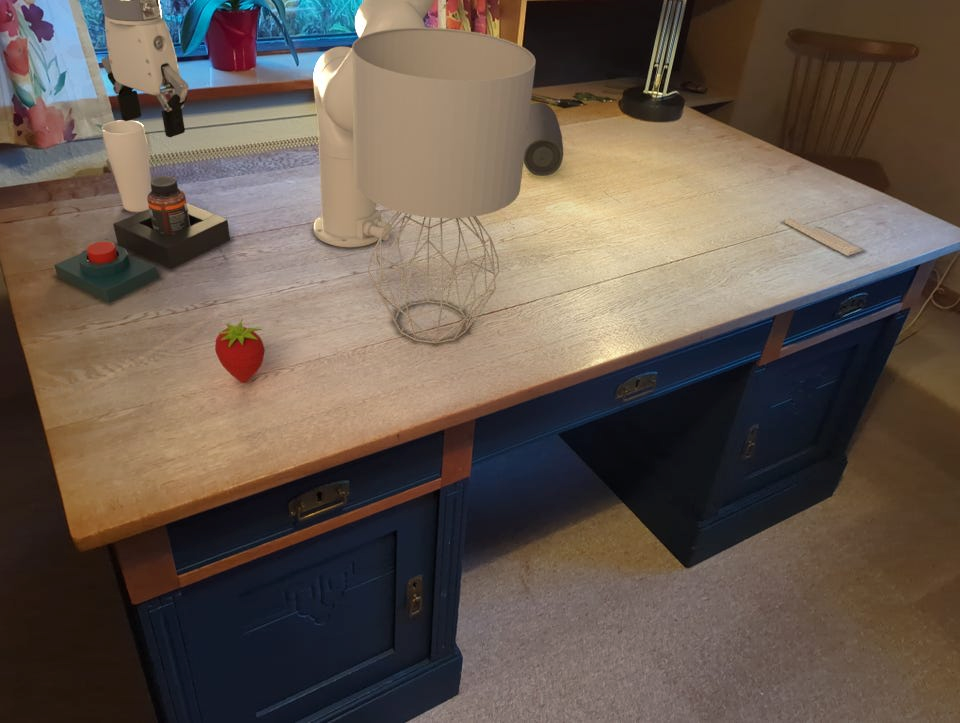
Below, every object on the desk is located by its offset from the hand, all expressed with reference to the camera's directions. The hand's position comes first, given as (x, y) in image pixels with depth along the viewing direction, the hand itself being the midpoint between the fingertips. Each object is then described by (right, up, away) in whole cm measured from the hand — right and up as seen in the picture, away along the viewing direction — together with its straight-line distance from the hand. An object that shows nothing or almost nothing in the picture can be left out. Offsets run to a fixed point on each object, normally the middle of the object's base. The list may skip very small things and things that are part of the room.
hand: (153, 126), depth 118 cm
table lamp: (+43, -30, -1) cm, 53 cm away
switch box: (-8, -23, +2) cm, 25 cm away
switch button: (-8, -20, 0) cm, 22 cm away
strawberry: (+19, -39, -15) cm, 46 cm away
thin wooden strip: (+119, -12, +34) cm, 124 cm away
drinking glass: (-12, -8, +21) cm, 26 cm away
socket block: (-2, -16, +12) cm, 20 cm away
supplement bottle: (-2, -16, +12) cm, 20 cm away
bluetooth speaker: (+64, +9, +54) cm, 84 cm away
